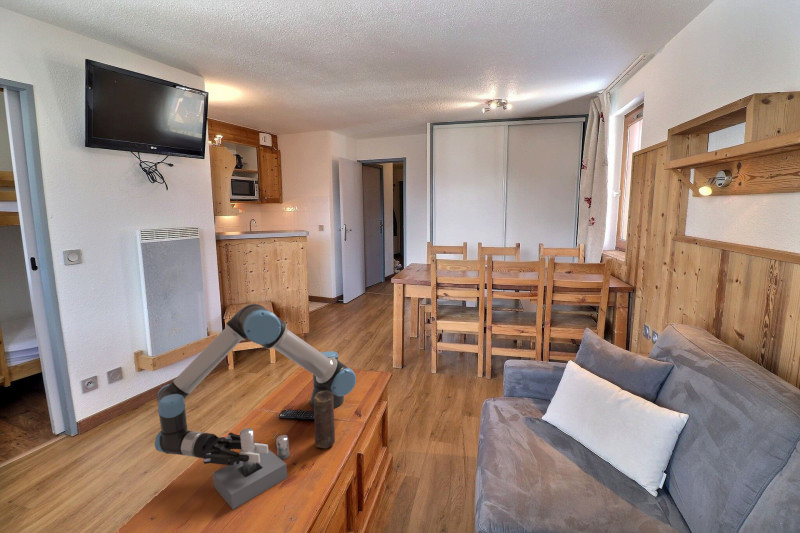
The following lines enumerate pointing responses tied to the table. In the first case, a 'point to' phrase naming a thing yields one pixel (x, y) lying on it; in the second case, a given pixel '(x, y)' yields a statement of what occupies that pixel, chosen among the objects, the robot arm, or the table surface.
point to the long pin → (248, 450)
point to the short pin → (282, 447)
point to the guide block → (249, 479)
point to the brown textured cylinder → (324, 419)
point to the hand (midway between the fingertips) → (263, 453)
